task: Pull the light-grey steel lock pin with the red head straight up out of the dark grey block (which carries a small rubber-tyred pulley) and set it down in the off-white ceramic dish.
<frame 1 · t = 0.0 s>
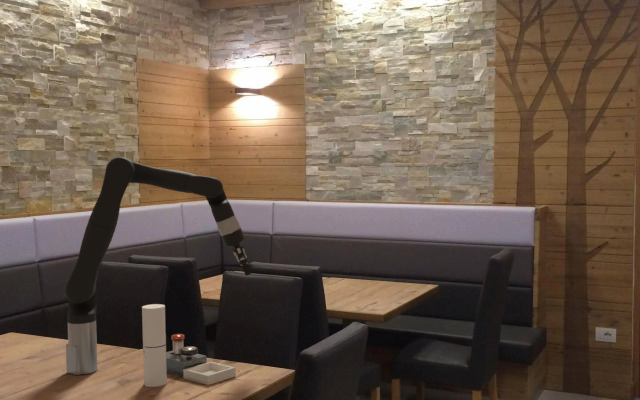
hand: (247, 272, 260), 31 cm above the table, tool tilted 20°, fingers open, 8 cm apart
dish: (209, 377, 242), on the table
dark grey block: (180, 369, 251), on the table
lock pin: (178, 367, 254), resting in dark grey block
cylindrical container: (155, 384, 236), on the table
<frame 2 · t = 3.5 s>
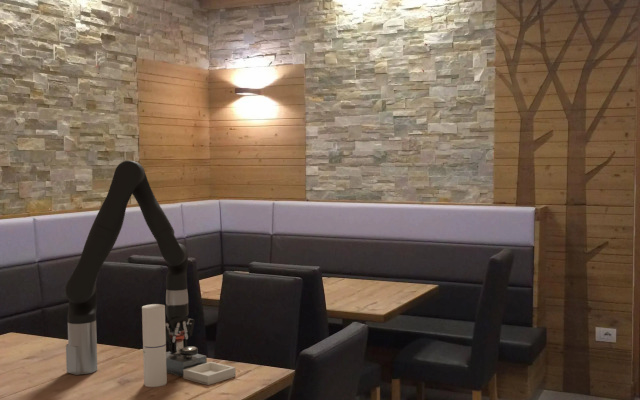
hand: (178, 351, 254), 6 cm above the table, tool pointing down, fingers closed on lock pin, 4 cm apart
lock pin: (178, 367, 254), resting in dark grey block, touching gripper
everything else where it was.
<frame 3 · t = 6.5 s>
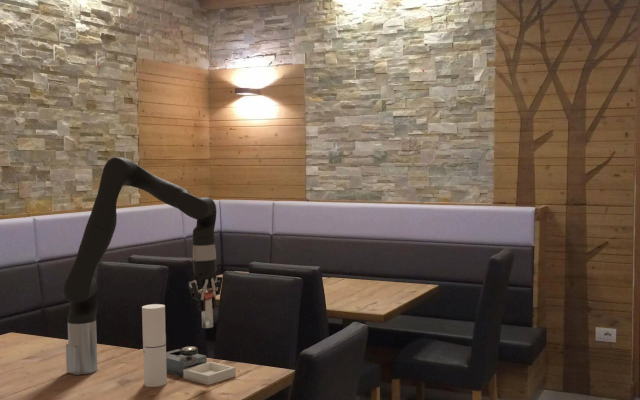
hand: (206, 309, 243), 22 cm above the table, tool pointing down, fingers closed on lock pin, 4 cm apart
lock pin: (207, 326, 243), point 16 cm above the table, touching gripper
everything else where it was.
when the fingers open (8 cm above the table, at t = 9.5 s): lock pin drops 2 cm, resting on dish.
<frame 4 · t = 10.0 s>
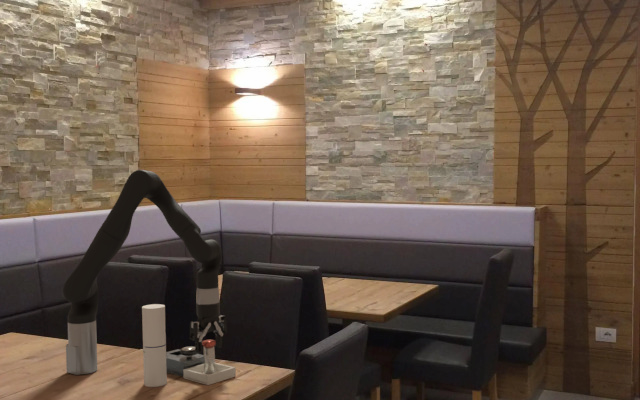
hand: (209, 350, 242), 9 cm above the table, tool pointing down, fingers open, 8 cm apart
lock pin: (209, 374, 242), point 1 cm above the table, touching dish
everything else where it was.
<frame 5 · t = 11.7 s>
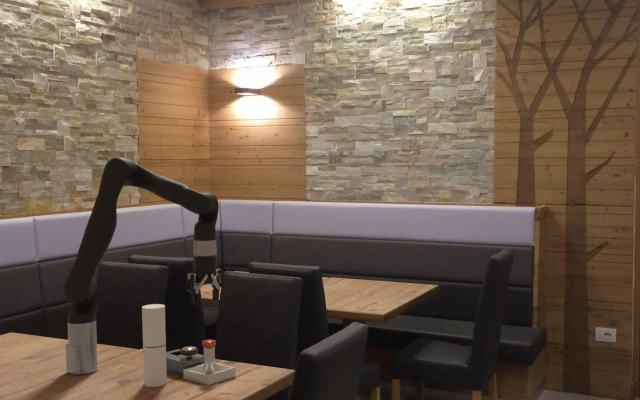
hand: (205, 302, 242), 25 cm above the table, tool pointing down, fingers open, 8 cm apart
nothing on the table moved.
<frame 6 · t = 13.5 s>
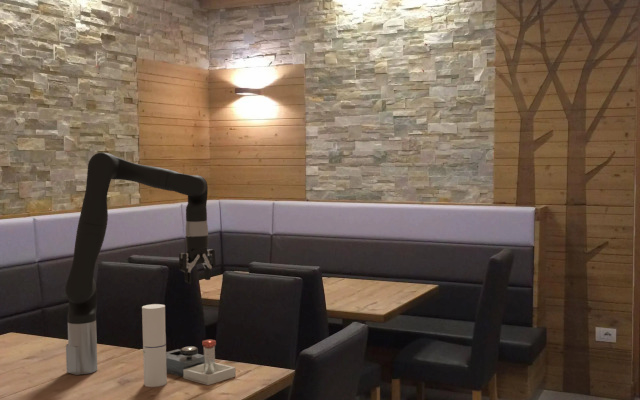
hand: (197, 281, 251), 30 cm above the table, tool pointing down, fingers open, 8 cm apart
nothing on the table moved.
at the end: lock pin inside the target area on the dish (0.1 cm from its centre), point 0.8 cm above the dish's base; the gripper is holding nothing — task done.
